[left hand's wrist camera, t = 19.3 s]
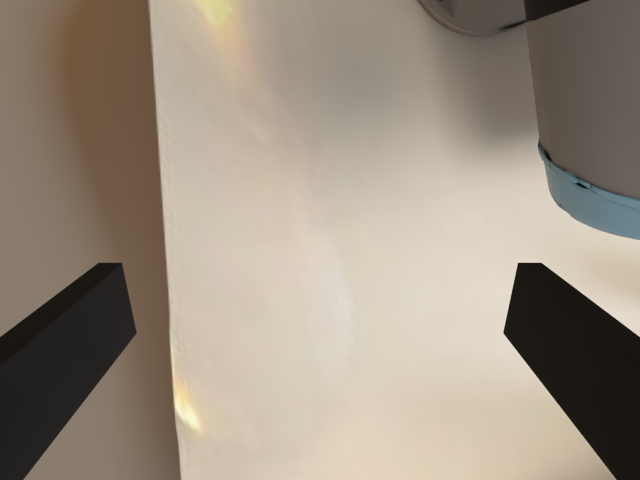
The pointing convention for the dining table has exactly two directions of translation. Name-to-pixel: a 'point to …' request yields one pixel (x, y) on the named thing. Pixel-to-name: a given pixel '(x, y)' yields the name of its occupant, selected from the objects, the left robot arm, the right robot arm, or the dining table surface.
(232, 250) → the dining table surface
